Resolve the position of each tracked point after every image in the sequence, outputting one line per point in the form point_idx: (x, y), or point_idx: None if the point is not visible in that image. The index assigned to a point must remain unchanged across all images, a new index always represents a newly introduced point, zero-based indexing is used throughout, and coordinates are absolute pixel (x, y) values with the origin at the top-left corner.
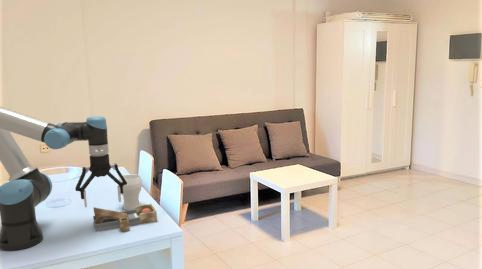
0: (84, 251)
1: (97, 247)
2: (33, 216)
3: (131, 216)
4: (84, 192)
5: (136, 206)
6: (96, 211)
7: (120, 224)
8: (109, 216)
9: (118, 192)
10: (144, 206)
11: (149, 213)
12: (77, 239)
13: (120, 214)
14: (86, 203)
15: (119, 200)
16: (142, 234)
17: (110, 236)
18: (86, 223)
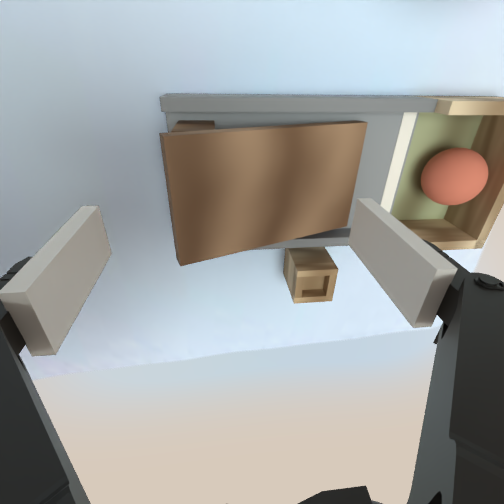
0: (152, 361)
1: (191, 349)
2: None
3: (375, 155)
4: (44, 352)
5: (454, 111)
6: (183, 219)
7: (290, 292)
8: (256, 247)
9: (386, 278)
10: (496, 113)
11: (445, 248)
12: (109, 275)
13: (323, 176)
14: (101, 271)
15: (355, 250)
16: (344, 312)
17: (239, 292)
18: (120, 83)
